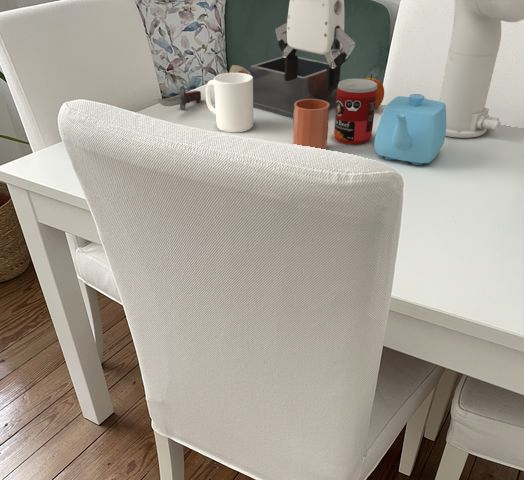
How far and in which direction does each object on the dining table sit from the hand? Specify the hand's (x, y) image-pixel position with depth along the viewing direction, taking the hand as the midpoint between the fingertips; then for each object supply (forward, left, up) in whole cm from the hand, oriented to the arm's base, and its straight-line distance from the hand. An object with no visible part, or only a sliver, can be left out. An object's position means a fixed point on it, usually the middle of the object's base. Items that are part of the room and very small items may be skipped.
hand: (310, 84), depth 108 cm
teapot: (-17, -9, -13) cm, 23 cm away
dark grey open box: (+20, -20, -13) cm, 31 cm away
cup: (+23, 0, -13) cm, 26 cm away
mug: (+35, -19, -13) cm, 42 cm away
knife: (+38, 0, -13) cm, 40 cm away
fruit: (+5, -29, -13) cm, 32 cm away
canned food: (-3, -11, -13) cm, 17 cm away
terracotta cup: (0, 0, -13) cm, 13 cm away
